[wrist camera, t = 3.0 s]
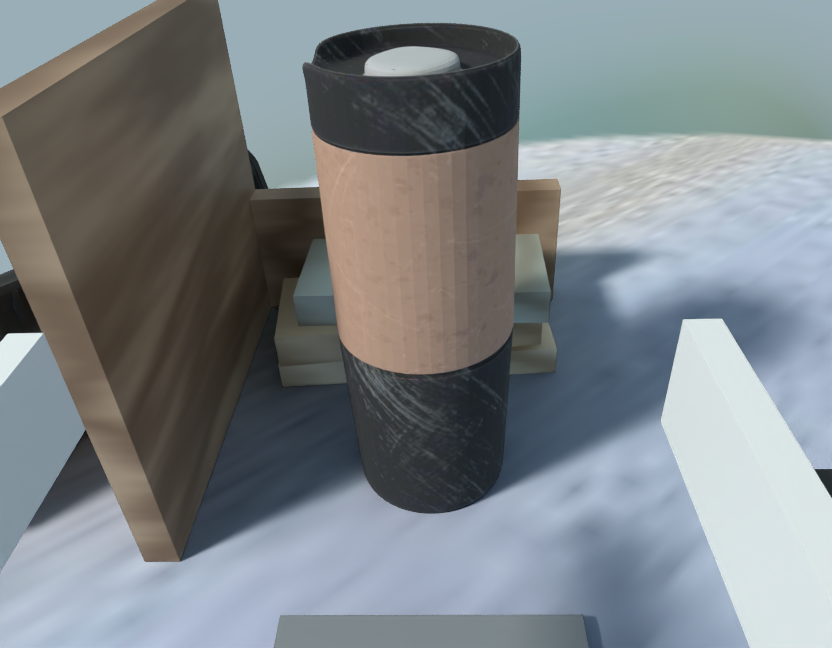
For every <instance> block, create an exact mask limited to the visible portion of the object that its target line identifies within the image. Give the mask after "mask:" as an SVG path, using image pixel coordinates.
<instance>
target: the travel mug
mask: <svg viewBox="0 0 832 648" xmlns="http://www.w3.org/2000/svg"><path fill="white" fill-rule="evenodd" d="M520 71H521V48H520V44H519V42H518V40H517V39H516V38H515V37H513V36H512V35H510V34H508V33H506V32H503V31H500V30H497V29H493V28H488V27H483V26H476V25H467V24H455V23H413V24H399V25H388V26H380V27H372V28H366V29H361V30H356V31H351V32H346V33H342V34H339V35H336V36H333V37H330V38H328V39H326V40H324V41H322V42H321V43H319V45H318V46H317V48H316V51H315V55H314V59H313V61H312V63H311V64H310V63H304V64H303V73H304V77H305V82H306V89H307V97H308V105H309V112H310V120H311V126H312V135H313V143H314V150H315V159H316V166H317V174H318V182H319V190H320V197H321V205H322V213H323V221H324V228H325V236H326V244H327V251H328V259H329V267H330V275H331V282H332V290H333V298H334V306H335V313H336V321H337V329H338V333H339V341H340V347H341V352H342V358H343V363H344V369H345V374H346V380H347V385H348V391H349V396H350V402H351V407H352V413H353V419H354V424H355V430H356V435H357V441H358V446H359V451H360V456H361V461H362V466H363V469H364V473H365V476H366V478H367V480H368V482H369V484H370V485H371V487H372V488H373V490H374V491H375V492H376V493H377V494H378V495H379V496H380V497H382V498H383V499H384V500H386V501H387V502H389V503H391V504H392V505H395V506H397V507H399V508H402V509H405V510H408V511H413V512H418V513H442V512H449V511H453V510H457V509H460V508H462V507H465V506H467V505H469V504H471V503H473V502H475V501H477V500H478V499H480V498H481V497H482V496H483V495H484V494H486V493H487V492H488V491H489V489H490V488H491V487H492V486H493V484H494V483H495V481H496V480H497V477H498V475H499V473H500V470H501V465H502V459H503V449H504V438H505V426H506V413H507V400H508V387H509V375H510V362H511V349H512V336H513V320H514V286H515V251H516V215H517V180H518V144H519V108H520V106H519V105H520V75H521V74H520V73H521V72H520Z"/></svg>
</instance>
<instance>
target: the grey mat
mask: <svg viewBox="0 0 832 648" xmlns="http://www.w3.org/2000/svg"><path fill="white" fill-rule="evenodd" d="M274 648H589V646H588V640H587V635H586V630H585V624H584V619H583V615H284V616H280V619H279V624H278V629H277V634H276V639H275V644H274Z"/></svg>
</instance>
